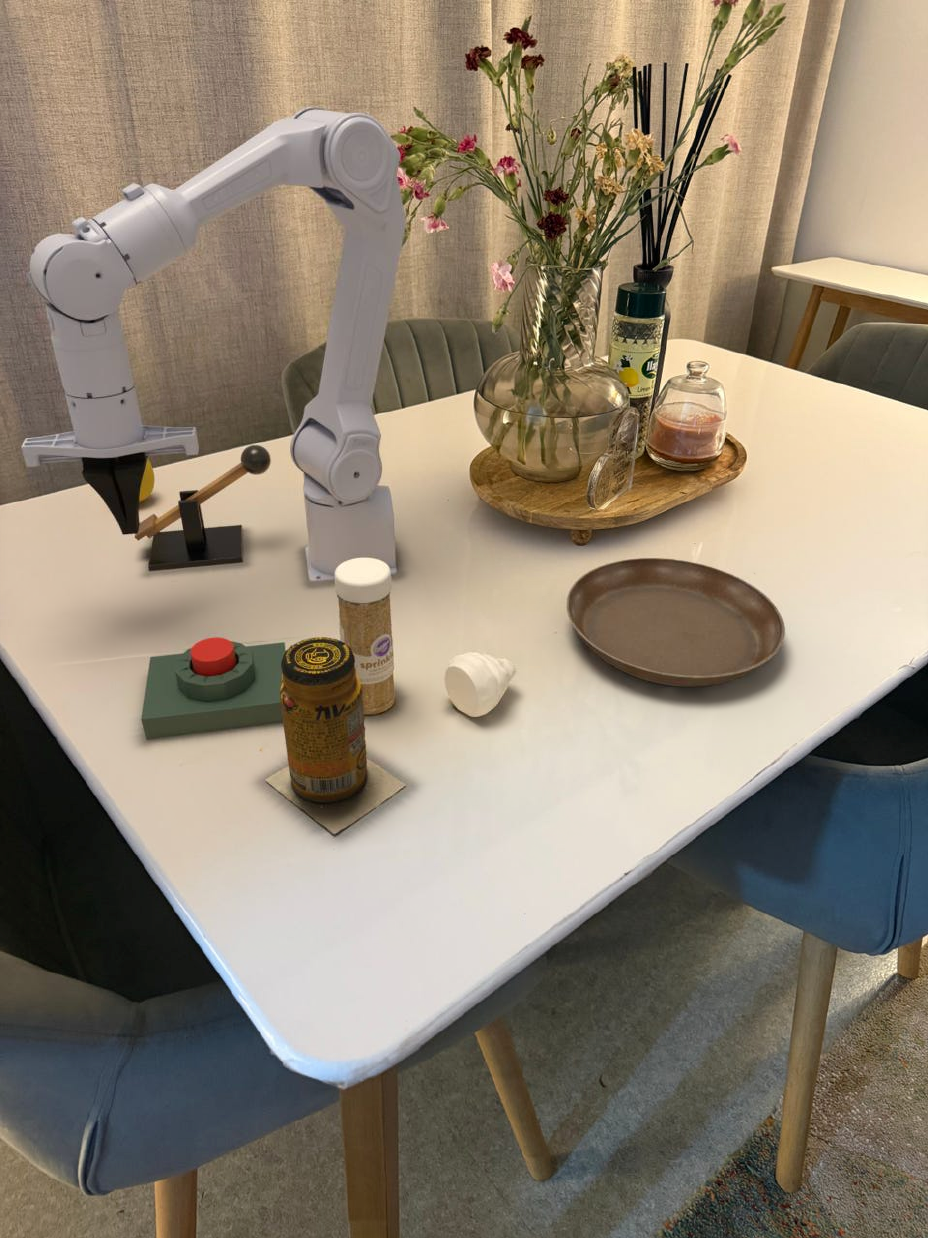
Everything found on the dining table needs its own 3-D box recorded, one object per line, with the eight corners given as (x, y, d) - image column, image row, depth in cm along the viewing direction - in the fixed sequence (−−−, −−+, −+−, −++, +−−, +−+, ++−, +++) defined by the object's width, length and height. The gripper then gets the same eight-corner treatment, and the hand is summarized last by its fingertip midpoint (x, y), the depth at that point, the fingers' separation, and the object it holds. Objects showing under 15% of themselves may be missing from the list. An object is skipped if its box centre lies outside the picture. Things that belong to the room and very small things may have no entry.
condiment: (336, 738, 74) (324, 618, 68) (406, 786, 70) (401, 663, 63) (265, 782, 70) (245, 658, 63) (334, 837, 65) (320, 710, 58)
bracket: (242, 532, 105) (234, 477, 101) (243, 564, 99) (234, 507, 95) (155, 539, 104) (143, 484, 100) (149, 573, 97) (137, 515, 93)
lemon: (146, 516, 108) (133, 455, 104) (104, 512, 109) (90, 451, 105) (167, 497, 113) (156, 438, 109) (127, 493, 114) (114, 434, 110)
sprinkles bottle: (377, 723, 76) (369, 588, 69) (334, 706, 78) (322, 574, 71) (406, 694, 79) (401, 563, 72) (364, 679, 81) (355, 550, 74)
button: (236, 651, 79) (233, 635, 78) (236, 675, 76) (233, 658, 75) (194, 656, 78) (191, 639, 77) (192, 680, 75) (189, 663, 74)
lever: (276, 457, 99) (258, 434, 97) (277, 468, 96) (258, 445, 94) (152, 540, 101) (132, 519, 99) (150, 553, 98) (129, 532, 97)
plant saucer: (825, 662, 84) (833, 633, 82) (655, 730, 75) (660, 700, 74) (680, 567, 99) (684, 540, 97) (524, 615, 90) (525, 587, 89)
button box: (287, 661, 84) (282, 625, 81) (291, 721, 76) (286, 684, 74) (154, 676, 81) (146, 640, 79) (146, 739, 74) (136, 702, 72)
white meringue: (531, 700, 79) (534, 650, 76) (482, 730, 75) (484, 678, 72) (487, 673, 82) (489, 624, 79) (439, 700, 79) (439, 650, 76)
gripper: (189, 368, 80) (211, 504, 88) (18, 377, 78) (56, 517, 85) (185, 393, 75) (209, 537, 82) (1, 405, 72) (43, 551, 79)
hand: (131, 529), depth 83 cm, fingers closed
